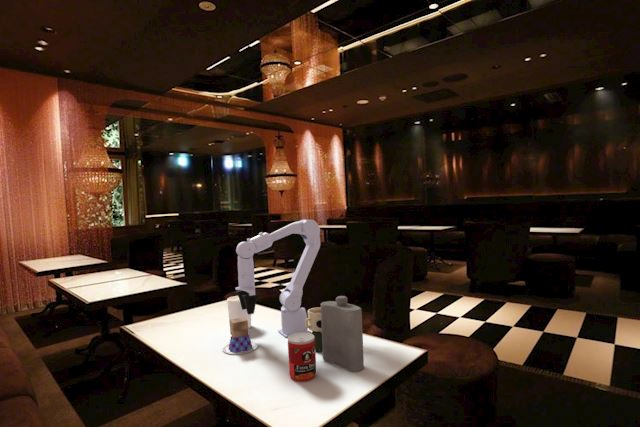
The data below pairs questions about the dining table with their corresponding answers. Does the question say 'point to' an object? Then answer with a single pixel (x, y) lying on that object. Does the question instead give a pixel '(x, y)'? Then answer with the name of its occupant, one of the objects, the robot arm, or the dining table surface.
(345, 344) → the flask
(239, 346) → the pudding
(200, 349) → the dining table surface
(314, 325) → the character mug
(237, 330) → the walnut block
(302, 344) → the canned food
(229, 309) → the candle holder
